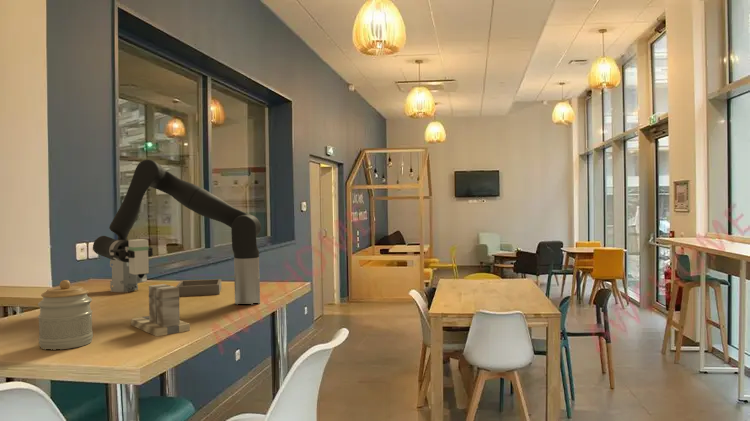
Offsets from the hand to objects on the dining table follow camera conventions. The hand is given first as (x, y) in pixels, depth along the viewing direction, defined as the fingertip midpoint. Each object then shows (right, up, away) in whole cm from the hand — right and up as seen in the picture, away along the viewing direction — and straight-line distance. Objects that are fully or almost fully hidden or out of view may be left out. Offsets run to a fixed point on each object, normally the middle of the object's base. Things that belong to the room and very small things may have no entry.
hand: (141, 254), depth 180 cm
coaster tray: (+1, -21, +55) cm, 59 cm away
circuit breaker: (-31, -21, +61) cm, 72 cm away
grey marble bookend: (+10, -22, -11) cm, 26 cm away
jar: (-8, -23, -29) cm, 38 cm away
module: (-2, -6, +2) cm, 7 cm away
